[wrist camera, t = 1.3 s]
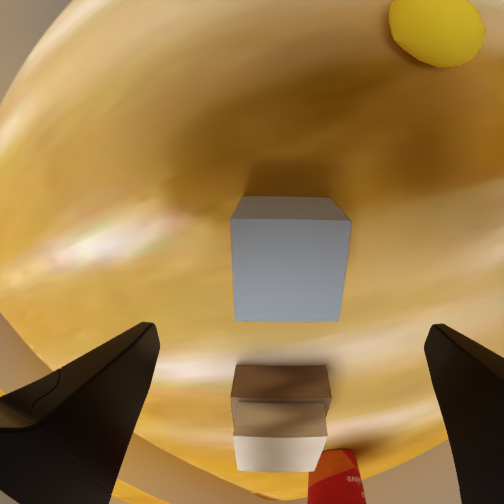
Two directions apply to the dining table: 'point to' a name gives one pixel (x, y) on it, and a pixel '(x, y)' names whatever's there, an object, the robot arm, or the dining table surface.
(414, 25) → the lemon
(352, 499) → the paper cup
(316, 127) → the dining table surface
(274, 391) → the tower base
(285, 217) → the slate brick
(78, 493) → the robot arm
